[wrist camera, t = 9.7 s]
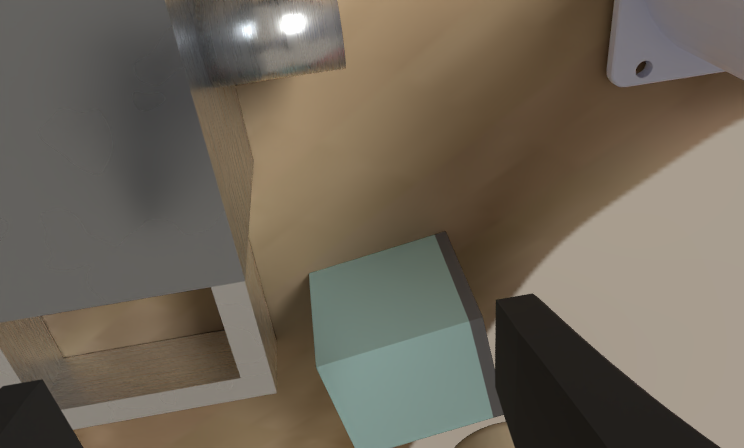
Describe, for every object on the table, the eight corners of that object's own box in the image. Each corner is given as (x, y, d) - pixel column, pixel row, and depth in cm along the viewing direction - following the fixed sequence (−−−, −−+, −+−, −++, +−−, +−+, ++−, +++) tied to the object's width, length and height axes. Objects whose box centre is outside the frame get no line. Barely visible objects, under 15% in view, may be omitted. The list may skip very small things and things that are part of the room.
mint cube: (308, 273, 21) (445, 231, 21) (346, 358, 24) (468, 321, 23) (316, 367, 17) (482, 317, 17) (359, 457, 20) (505, 414, 20)
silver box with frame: (299, -211, 14) (320, -256, 7) (375, 324, 23) (413, 512, 16) (-299, -137, 13) (-855, -115, 7) (25, 385, 22) (-76, 606, 16)
